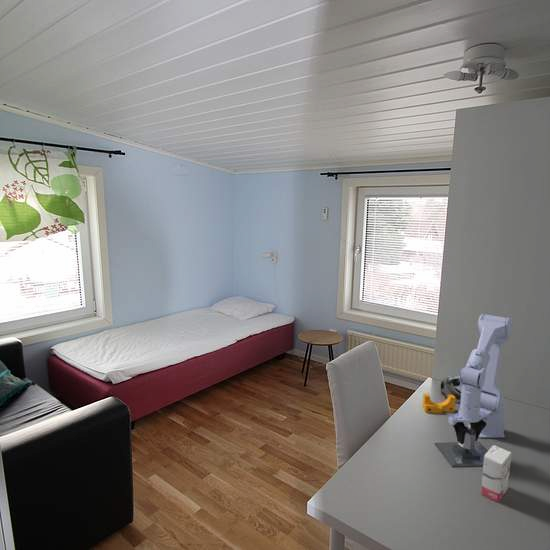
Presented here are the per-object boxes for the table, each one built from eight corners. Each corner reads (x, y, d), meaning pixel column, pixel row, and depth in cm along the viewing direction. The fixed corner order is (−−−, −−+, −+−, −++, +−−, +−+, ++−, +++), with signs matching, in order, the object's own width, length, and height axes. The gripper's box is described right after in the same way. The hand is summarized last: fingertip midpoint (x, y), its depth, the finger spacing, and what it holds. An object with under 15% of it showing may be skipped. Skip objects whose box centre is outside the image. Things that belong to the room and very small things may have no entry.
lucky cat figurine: (476, 395, 167) (487, 375, 158) (470, 415, 159) (481, 395, 150) (442, 379, 173) (451, 359, 165) (435, 397, 165) (444, 378, 157)
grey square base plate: (479, 443, 131) (480, 428, 130) (500, 465, 119) (502, 449, 118) (434, 444, 130) (435, 429, 129) (451, 466, 118) (452, 450, 118)
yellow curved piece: (425, 413, 152) (426, 398, 151) (422, 407, 156) (423, 393, 155) (456, 414, 151) (457, 399, 150) (452, 409, 155) (453, 394, 154)
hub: (467, 439, 127) (468, 426, 126) (478, 448, 122) (479, 434, 122) (455, 442, 126) (456, 428, 125) (466, 450, 121) (467, 436, 120)
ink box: (498, 503, 103) (502, 464, 101) (479, 493, 107) (483, 456, 105) (508, 488, 109) (512, 451, 107) (490, 479, 112) (493, 444, 111)
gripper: (478, 394, 128) (475, 431, 130) (443, 400, 124) (440, 437, 126) (495, 404, 121) (492, 442, 123) (458, 410, 117) (455, 449, 119)
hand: (467, 441), depth 124 cm, fingers closed on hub, 5 cm apart
